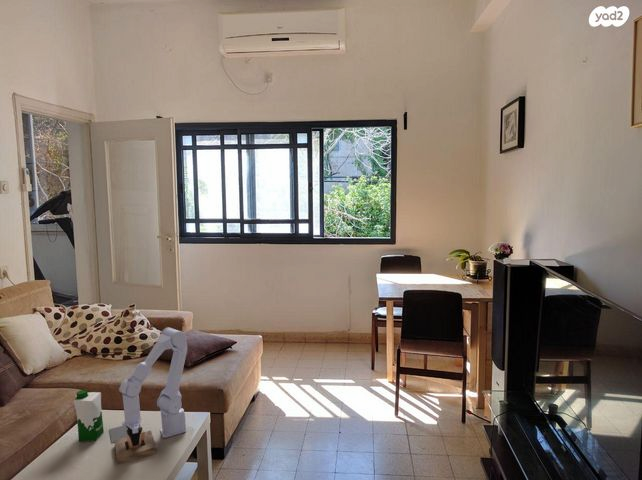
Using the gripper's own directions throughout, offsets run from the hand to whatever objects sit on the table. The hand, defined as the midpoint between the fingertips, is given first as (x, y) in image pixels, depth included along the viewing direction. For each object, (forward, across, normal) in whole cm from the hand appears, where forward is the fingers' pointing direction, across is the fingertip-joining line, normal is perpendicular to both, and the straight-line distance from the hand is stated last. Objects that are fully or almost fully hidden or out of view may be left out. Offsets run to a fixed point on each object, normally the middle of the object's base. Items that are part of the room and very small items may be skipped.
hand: (134, 441), depth 179 cm
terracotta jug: (+3, 0, 0) cm, 3 cm away
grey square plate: (+3, -16, -2) cm, 16 cm away
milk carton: (+3, -20, -15) cm, 25 cm away
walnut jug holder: (+3, 0, 0) cm, 3 cm away
